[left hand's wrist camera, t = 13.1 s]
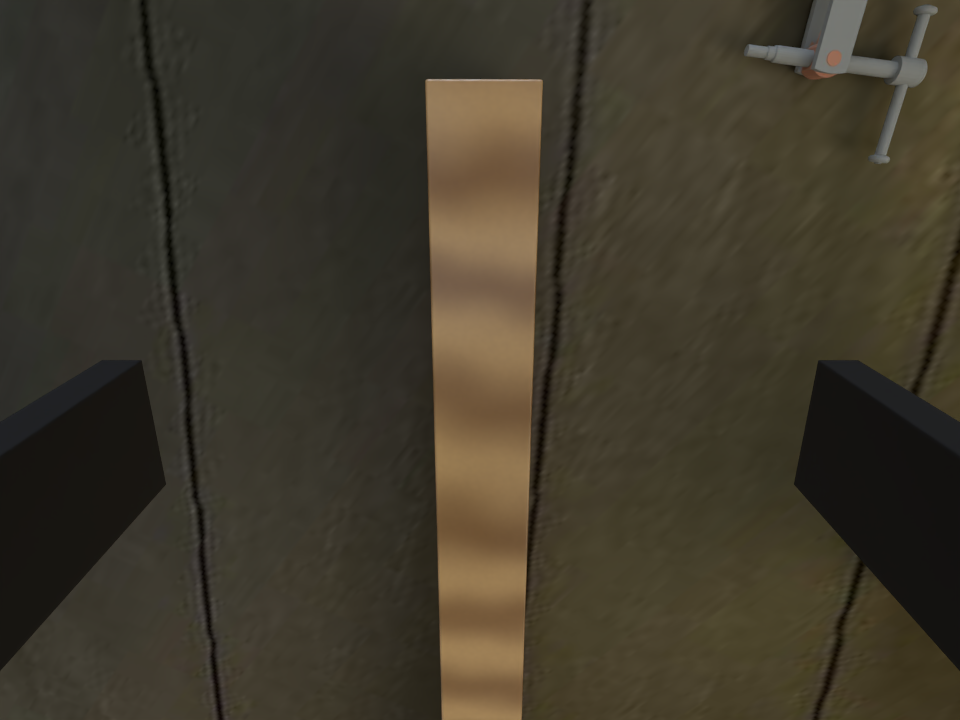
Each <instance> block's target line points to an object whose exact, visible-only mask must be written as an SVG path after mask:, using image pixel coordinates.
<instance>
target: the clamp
mask: <svg viewBox="0 0 960 720" xmlns="http://www.w3.org/2000/svg"><path fill="white" fill-rule="evenodd" d="M866 4H867V0H813V4H812V8H811V11H810V15H809V19H808V22H807V26H806V30H805V34H804V37H803V41H802V45H801V48H795V47H787V46H780V45H775V46H774V47H773V46H767V47H765V46H758V45H750V44H748V45H747V46H746V48H745V51H744V56H749V57H757V58H763V59H764V60H770V62H771V63H779V64H786V65H793V66H796V67H795V71H794V72H795V73H797V74H800V75H803V76H804V77H806V78H808V79H812V80H815V79H821V78H828V77H832V76H834V75H836V74H841V73H852V74H859V75H867V76H874V77H881V78H884V82H885V83H886V84H889V85H896V87H895V90H894V93H893V96H892V100H891V103H890V106H889V109H888V112H887V116H886V119H885V122H884V125H883V129H882V132H881V135H880V138H879V141H878V145H877V148H876V151H875V154H874V155H870V156H869V157H868V160H869V161H871V162H874V163H876V164H881V163H888V162H889V161H890V158H889V157H888V156H886V154H887V151H888V147H889V144H890V141H891V138H892V135H893V132H894V129H895V125H896V122H897V119H898V116H899V113H900V110H901V106H902V103H903V100H904V97H905V94H906V91H907V88H908V87H911V88H913V87H915V86H917V85H918V84H919V83H921V82H922V80H923V79H924V77H925V76H926V73H927V68H928V67H927V62H926V60H924V59H919V58H917V56H918V53H919V50H920V47H921V43H922V40H923V37H924V34H925V31H926V28H927V24H928V21H929V18H930V16H932V15H934V14H936V13H937V11H938V9H937V7H935V6H932V5H922V6H918V7H916V8H915V9H914V11H913V12H914V14H915V15H917V19H916V23H915V26H914V29H913V32H912V35H911V39H910V42H909V45H908V48H907V51H906V55H905V56H895V57H894V58H893V59H892V60H891V61H889V60H882V59H875V58H867V57H860V56H853V55H852V51H853V48H854V45H855V41H856V38H857V34H858V31H859V28H860V24H861V21H862V17H863V14H864V11H865V7H866Z"/></svg>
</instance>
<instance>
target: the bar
mask: <svg viewBox="0 0 960 720" xmlns="http://www.w3.org/2000/svg"><path fill="white" fill-rule="evenodd" d="M542 90H543V81H542V80H541V79H427V80H426V81H425V92H426V131H427V169H428V207H429V246H430V284H431V323H432V361H433V399H434V438H435V476H436V515H437V553H438V591H439V630H440V668H441V707H442V720H522V693H523V662H524V632H525V602H526V572H527V542H528V512H529V482H530V452H531V422H532V392H533V361H534V331H535V301H536V271H537V241H538V211H539V181H540V151H541V121H542Z"/></svg>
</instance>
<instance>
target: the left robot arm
mask: <svg viewBox="0 0 960 720" xmlns="http://www.w3.org/2000/svg"><path fill="white" fill-rule="evenodd" d="M165 485H166V482H165V477H164V472H163V467H162V462H161V457H160V451H159V446H158V441H157V436H156V431H155V426H154V421H153V416H152V411H151V406H150V401H149V396H148V391H147V386H146V381H145V376H144V371H143V366H142V361H141V360H102V361H100V362H99V363H97V364H95V365H94V366H92V367H90V368H89V369H87V370H85V371H84V372H82V373H80V374H79V375H77V376H75V377H74V378H72V379H71V380H69V381H67V382H66V383H64V384H62V385H61V386H59V387H57V388H56V389H54V390H52V391H51V392H49V393H47V394H46V395H44V396H43V397H41V398H39V399H38V400H36V401H34V402H33V403H31V404H29V405H28V406H26V407H24V408H23V409H21V410H19V411H18V412H16V413H15V414H13V415H11V416H10V417H8V418H6V419H5V420H3V421H1V422H0V670H1V669H2V668H3V667H4V666H5V665H6V664H7V663H8V661H9V660H10V659H11V658H12V657H13V656H14V655H15V654H16V652H17V651H18V650H19V649H20V648H21V647H22V646H23V645H24V643H25V642H26V641H27V640H28V639H29V638H30V637H31V636H32V634H33V633H34V632H35V631H36V630H37V629H38V628H39V627H40V625H41V624H42V623H43V622H44V621H45V620H46V619H47V618H48V616H49V615H50V614H51V613H52V612H53V611H54V610H55V609H56V607H57V606H58V605H59V604H60V603H61V602H62V601H63V600H64V598H65V597H66V596H67V595H68V594H69V593H70V592H71V591H72V589H73V588H74V587H75V586H76V585H77V584H78V583H79V582H80V580H81V579H82V578H83V577H84V576H85V575H86V574H87V573H88V571H89V570H90V569H91V568H92V567H93V566H94V565H95V564H96V562H97V561H98V560H99V559H100V558H101V557H102V556H103V555H104V553H105V552H106V551H107V550H108V549H109V548H110V547H111V546H112V544H113V543H114V542H115V541H116V540H117V539H118V538H119V537H120V535H121V534H122V533H123V532H124V531H125V530H126V529H127V528H128V526H129V525H130V524H131V523H132V522H133V521H134V520H135V519H136V517H137V516H138V515H139V514H140V513H141V512H142V511H143V510H144V508H145V507H146V506H147V505H148V504H149V503H150V502H151V501H152V499H153V498H154V497H155V496H156V495H157V494H158V493H159V492H160V490H161V489H162V488H163V487H164V486H165ZM794 485H795V486H796V487H797V488H798V489H799V490H800V492H801V493H802V494H803V495H804V496H805V497H806V498H807V499H808V501H809V502H810V503H811V504H812V505H813V506H814V507H815V508H816V510H817V511H818V512H819V513H820V514H821V515H822V516H823V517H824V519H825V520H826V521H827V522H828V523H829V524H830V525H831V526H832V528H833V529H834V530H835V531H836V532H837V533H838V534H839V535H840V537H841V538H842V539H843V540H844V541H845V542H846V543H847V544H848V546H849V547H850V548H851V549H852V550H853V551H854V552H855V553H856V555H857V556H858V557H859V558H860V559H861V560H862V561H863V562H864V564H865V565H866V566H867V567H868V568H869V569H870V570H871V571H872V573H873V574H874V575H875V576H876V577H877V578H878V579H879V580H880V582H881V583H882V584H883V585H884V586H885V587H886V588H887V589H888V591H889V592H890V593H891V594H892V595H893V596H894V597H895V598H896V600H897V601H898V602H899V603H900V604H901V605H902V606H903V607H904V609H905V610H906V611H907V612H908V613H909V614H910V615H911V616H912V618H913V619H914V620H915V621H916V622H917V623H918V624H919V625H920V627H921V628H922V629H923V630H924V631H925V632H926V633H927V634H928V636H929V637H930V638H931V639H932V640H933V641H934V642H935V643H936V645H937V646H938V647H939V648H940V649H941V650H942V651H943V652H944V654H945V655H946V656H947V657H948V658H949V659H950V660H951V661H952V663H953V664H954V665H955V666H956V667H957V668H958V669H959V670H960V422H959V421H957V420H955V419H954V418H952V417H950V416H949V415H947V414H945V413H944V412H942V411H941V410H939V409H937V408H936V407H934V406H932V405H931V404H929V403H927V402H926V401H924V400H922V399H921V398H919V397H917V396H916V395H914V394H913V393H911V392H909V391H908V390H906V389H904V388H903V387H901V386H899V385H898V384H896V383H894V382H893V381H891V380H889V379H888V378H886V377H885V376H883V375H881V374H880V373H878V372H876V371H875V370H873V369H871V368H870V367H868V366H866V365H865V364H863V363H861V362H860V361H858V360H819V361H818V366H817V371H816V376H815V381H814V386H813V391H812V396H811V401H810V406H809V411H808V416H807V421H806V426H805V431H804V436H803V441H802V446H801V451H800V457H799V462H798V467H797V472H796V477H795V482H794Z"/></svg>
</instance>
